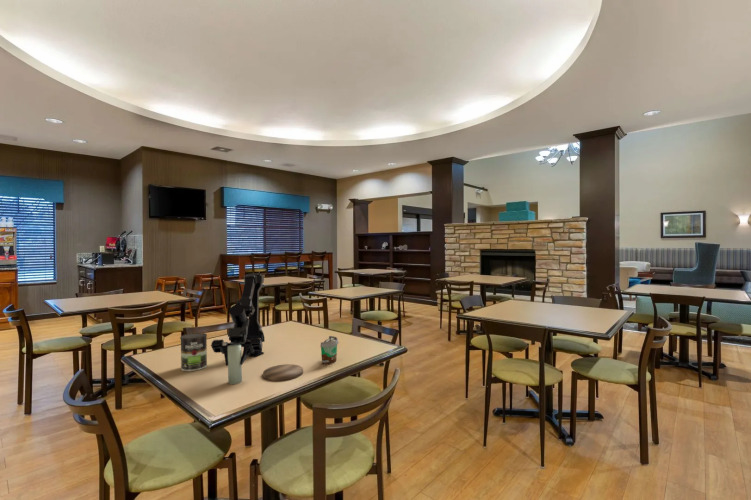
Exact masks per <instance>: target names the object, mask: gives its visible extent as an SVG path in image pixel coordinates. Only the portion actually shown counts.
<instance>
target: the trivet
mask: <svg viewBox="0 0 751 500" xmlns="http://www.w3.org/2000/svg"><path fill="white" fill-rule="evenodd" d="M303 373H304V368H303V366H301V365H298V364H288V363H287V364H278V365H273V366H271V367H268V368H266V369H264V370H263V373H262V378H264V379H265V380H267V381H272V382H284V381H290V380H294V379H297V378H299V377H301V376H302V375H303Z"/></svg>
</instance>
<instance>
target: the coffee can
mask: <svg viewBox="0 0 751 500" xmlns="http://www.w3.org/2000/svg"><path fill="white" fill-rule="evenodd" d="M207 337H208V335H207V333H205V332H195V333H194V332H193V333H185V334H182V335H181V336H180V357H181V358H180V370H181V371H182V372H195V371H200V370H203V369H205V368H207V367H208V354H207V353H208V352H207V349H208V348H207V347H208V345H207V343H208V342H207Z"/></svg>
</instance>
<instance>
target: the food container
mask: <svg viewBox="0 0 751 500" xmlns="http://www.w3.org/2000/svg"><path fill="white" fill-rule="evenodd" d="M339 343H340V342H339V339H338V337H337V336H335V335H333V336H332V335H329V336H328V338H326V339H325V340H324V341H322V342H320V350H321V365H329V364H333V363H336V362H337V355H338V345H339Z"/></svg>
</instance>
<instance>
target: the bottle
mask: <svg viewBox="0 0 751 500" xmlns="http://www.w3.org/2000/svg"><path fill="white" fill-rule="evenodd" d="M242 354H243V353H242V347H241V345H240V344H235V345H230V346H228V366H227V380H228V381H227V384H228V385H238V384H241V383H242V382H243V369H242V368H243V364H242V365H241V364H240V363H241V358H242Z"/></svg>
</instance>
